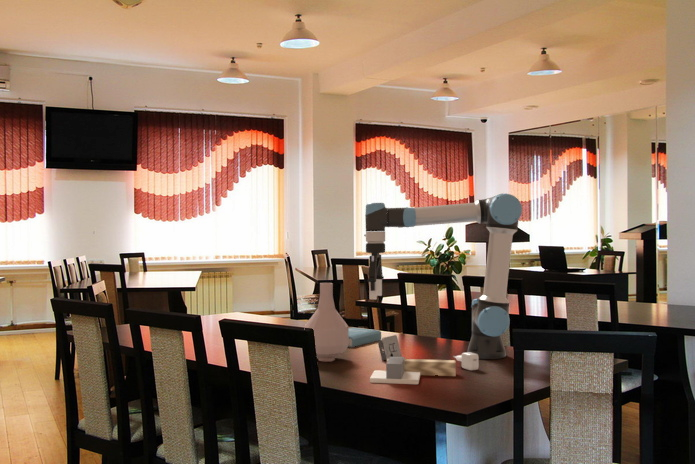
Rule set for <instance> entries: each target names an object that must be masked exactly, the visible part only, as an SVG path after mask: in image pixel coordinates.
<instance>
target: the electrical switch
mask: <svg viewBox="0 0 695 464" xmlns="http://www.w3.org/2000/svg"><path fill="white" fill-rule="evenodd" d="M377 345H378V349H379V353H380V354H379V355H380V357H381V361H387V359H389V358H390V357H403V356H402V352H401V347H400V343H399V339H398V335H397V334H392V335H389V336H385V337H381V340H379V341H377Z"/></svg>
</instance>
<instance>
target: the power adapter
mask: <svg viewBox="0 0 695 464" xmlns="http://www.w3.org/2000/svg"><path fill="white" fill-rule="evenodd" d="M452 358H454V359H456V360H455V361H458V362H460V364H461V367H462V368H463V369H465V370H467V371H477V370H479V364H480V363H479V362H480V361H479V359H480V358H479V357H478V354H475V353H472V352H467V351H466V352H462V353H461V354H458V355H452Z"/></svg>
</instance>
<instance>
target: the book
mask: <svg viewBox="0 0 695 464" xmlns="http://www.w3.org/2000/svg"><path fill="white" fill-rule="evenodd" d="M348 332H349V344H348V346H347V348H355V346H356V347H359V346H364V345H368V344H371V343H375V342H378V341H380V340H382V331H381V330H380V329H372V328H371V329H369V328H363V327H362V328H360V327H348Z"/></svg>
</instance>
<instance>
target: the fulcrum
mask: <svg viewBox="0 0 695 464" xmlns="http://www.w3.org/2000/svg"><path fill="white" fill-rule="evenodd" d="M405 359H406V357H404V356H402V357H390V358H389V360H388V361H387V360H386V370H379V369H378V370H375V369H374V371H373V372H372V374H371V375H370V377H369V383H371V384H372V383H374V384H375V383H376V384H395V385H396V384H398V385H399V384H400V385H419V383H420V378H421V375H420V372H408V371H405Z"/></svg>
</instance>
